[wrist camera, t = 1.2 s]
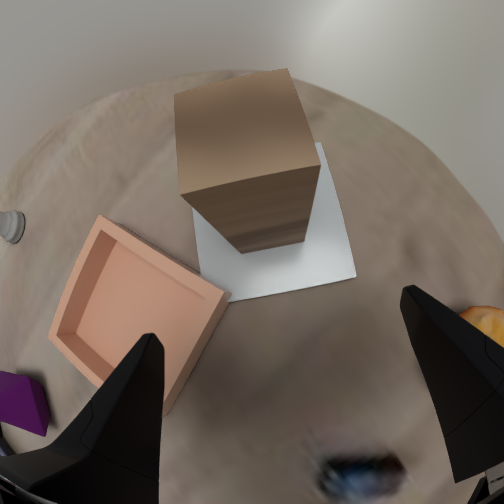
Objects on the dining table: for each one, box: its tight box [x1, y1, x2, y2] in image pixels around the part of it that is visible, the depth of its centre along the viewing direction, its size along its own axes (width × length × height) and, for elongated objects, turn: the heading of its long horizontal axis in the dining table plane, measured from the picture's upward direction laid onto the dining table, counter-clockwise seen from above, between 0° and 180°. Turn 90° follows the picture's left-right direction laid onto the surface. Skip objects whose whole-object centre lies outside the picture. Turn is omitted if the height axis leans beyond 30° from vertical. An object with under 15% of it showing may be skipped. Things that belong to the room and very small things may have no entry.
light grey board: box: [192, 142, 356, 302], centre depth 23 cm, size 12×12×1 cm
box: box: [48, 214, 232, 418], centre depth 22 cm, size 13×13×4 cm
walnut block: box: [174, 68, 321, 254], centre depth 16 cm, size 5×5×13 cm
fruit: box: [459, 306, 504, 347], centre depth 16 cm, size 8×8×8 cm
